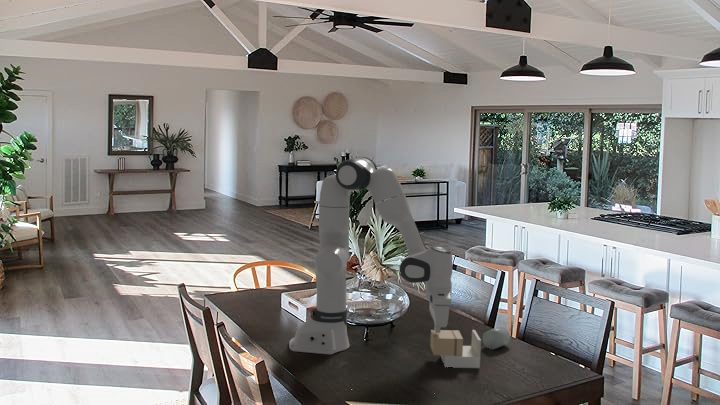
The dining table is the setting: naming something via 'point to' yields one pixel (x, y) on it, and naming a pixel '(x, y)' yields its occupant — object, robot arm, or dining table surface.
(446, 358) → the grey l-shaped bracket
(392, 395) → the dining table surface
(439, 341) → the carton
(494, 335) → the grey rounded stone
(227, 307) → the dining table surface
